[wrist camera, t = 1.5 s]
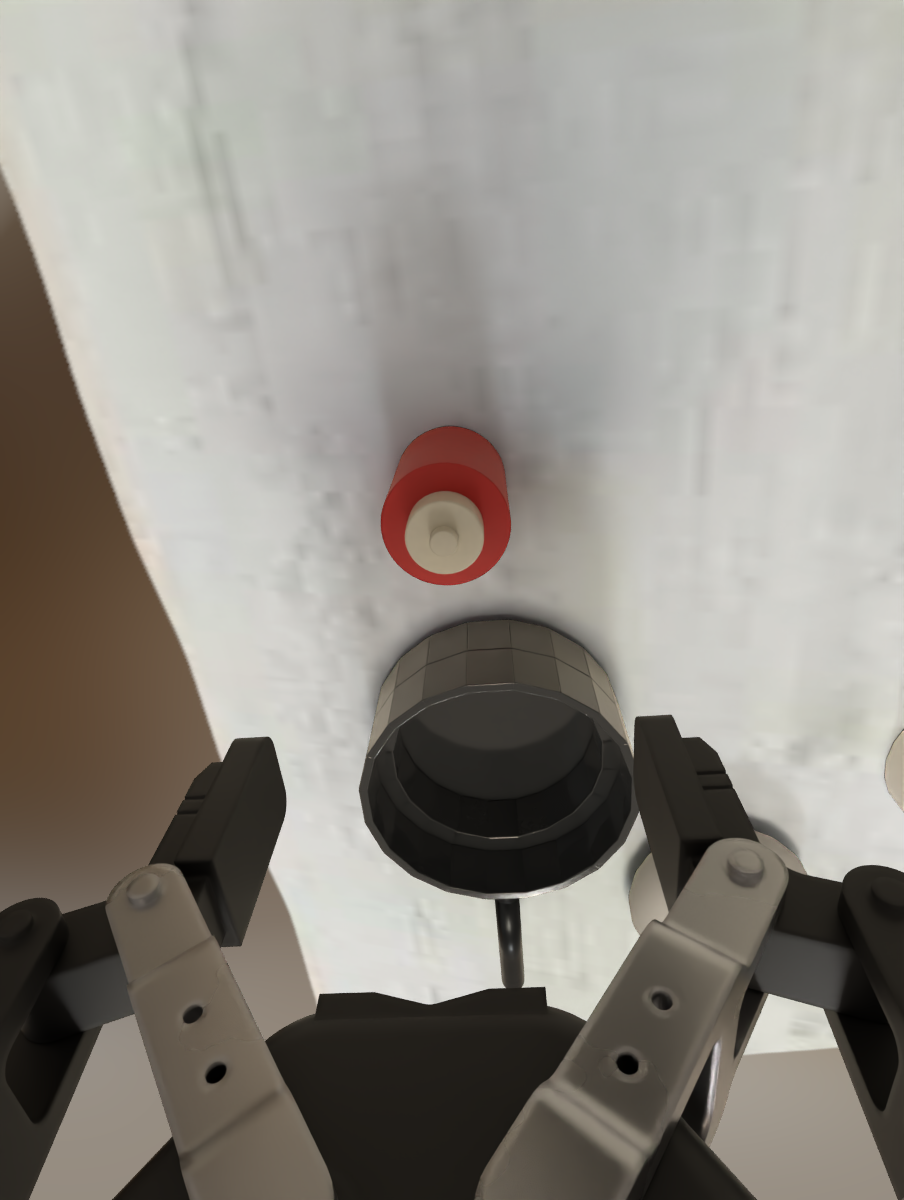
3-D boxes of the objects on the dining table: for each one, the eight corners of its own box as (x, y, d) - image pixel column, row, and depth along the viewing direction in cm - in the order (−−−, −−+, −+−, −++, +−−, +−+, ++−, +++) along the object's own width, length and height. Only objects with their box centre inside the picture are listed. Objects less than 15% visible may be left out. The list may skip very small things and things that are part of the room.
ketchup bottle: (390, 430, 30) (365, 482, 23) (502, 421, 30) (509, 471, 23) (403, 535, 32) (383, 610, 26) (508, 527, 32) (516, 601, 25)
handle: (493, 875, 35) (493, 895, 34) (517, 874, 35) (518, 894, 34) (502, 975, 38) (502, 996, 37) (524, 975, 38) (525, 996, 37)
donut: (717, 954, 44) (837, 861, 40) (734, 1007, 41) (865, 912, 37) (589, 890, 42) (702, 785, 38) (597, 942, 39) (720, 833, 35)
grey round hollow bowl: (361, 623, 34) (339, 692, 29) (618, 606, 34) (645, 674, 28) (393, 815, 40) (380, 903, 34) (614, 805, 39) (636, 894, 34)
